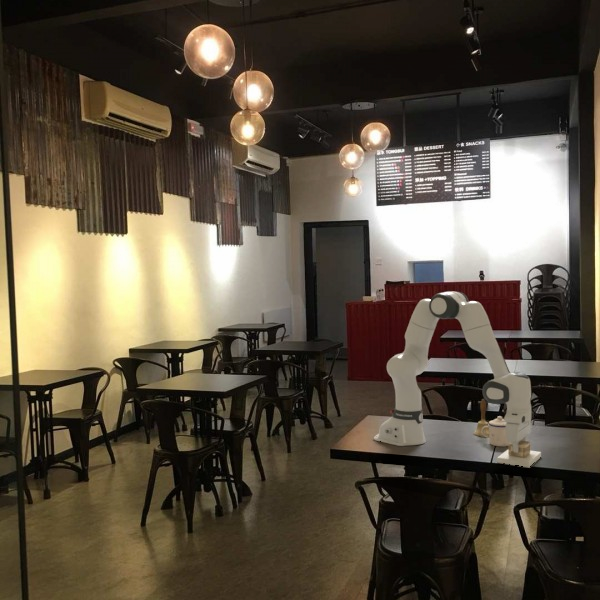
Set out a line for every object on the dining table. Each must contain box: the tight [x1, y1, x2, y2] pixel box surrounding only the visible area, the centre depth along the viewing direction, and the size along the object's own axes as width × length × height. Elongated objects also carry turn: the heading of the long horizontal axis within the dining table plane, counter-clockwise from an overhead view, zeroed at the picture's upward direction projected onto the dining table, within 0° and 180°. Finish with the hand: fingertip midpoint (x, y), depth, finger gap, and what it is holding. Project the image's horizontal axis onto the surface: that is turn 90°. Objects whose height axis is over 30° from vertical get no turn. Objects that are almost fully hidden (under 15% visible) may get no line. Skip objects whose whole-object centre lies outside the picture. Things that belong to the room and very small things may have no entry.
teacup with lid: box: [482, 415, 508, 447], centre depth 265 cm, size 12×9×12 cm
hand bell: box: [473, 398, 489, 437], centre depth 281 cm, size 8×8×16 cm
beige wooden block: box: [507, 440, 531, 457], centre depth 242 cm, size 6×6×4 cm
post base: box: [496, 449, 542, 469], centre depth 242 cm, size 12×16×5 cm
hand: (519, 449), depth 242 cm, fingers closed on beige wooden block, 6 cm apart
